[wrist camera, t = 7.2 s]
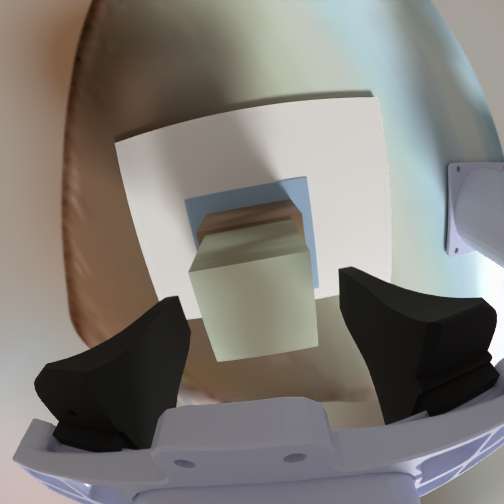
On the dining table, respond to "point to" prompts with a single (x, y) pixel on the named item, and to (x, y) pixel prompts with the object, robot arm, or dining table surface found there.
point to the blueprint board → (264, 185)
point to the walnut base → (251, 218)
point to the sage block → (256, 291)
